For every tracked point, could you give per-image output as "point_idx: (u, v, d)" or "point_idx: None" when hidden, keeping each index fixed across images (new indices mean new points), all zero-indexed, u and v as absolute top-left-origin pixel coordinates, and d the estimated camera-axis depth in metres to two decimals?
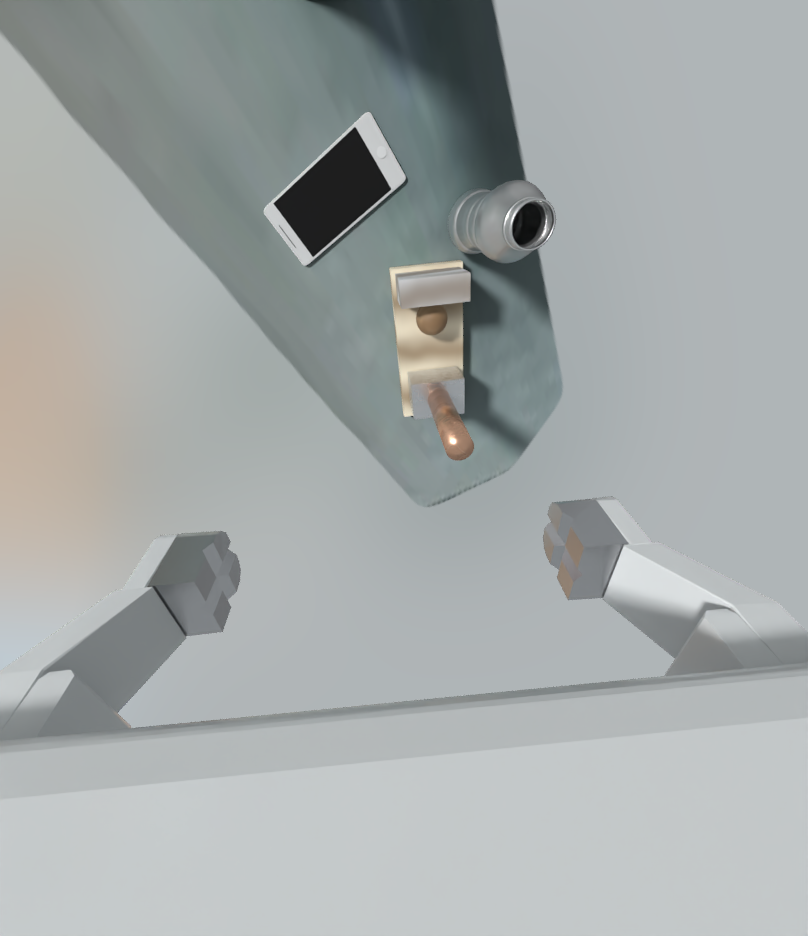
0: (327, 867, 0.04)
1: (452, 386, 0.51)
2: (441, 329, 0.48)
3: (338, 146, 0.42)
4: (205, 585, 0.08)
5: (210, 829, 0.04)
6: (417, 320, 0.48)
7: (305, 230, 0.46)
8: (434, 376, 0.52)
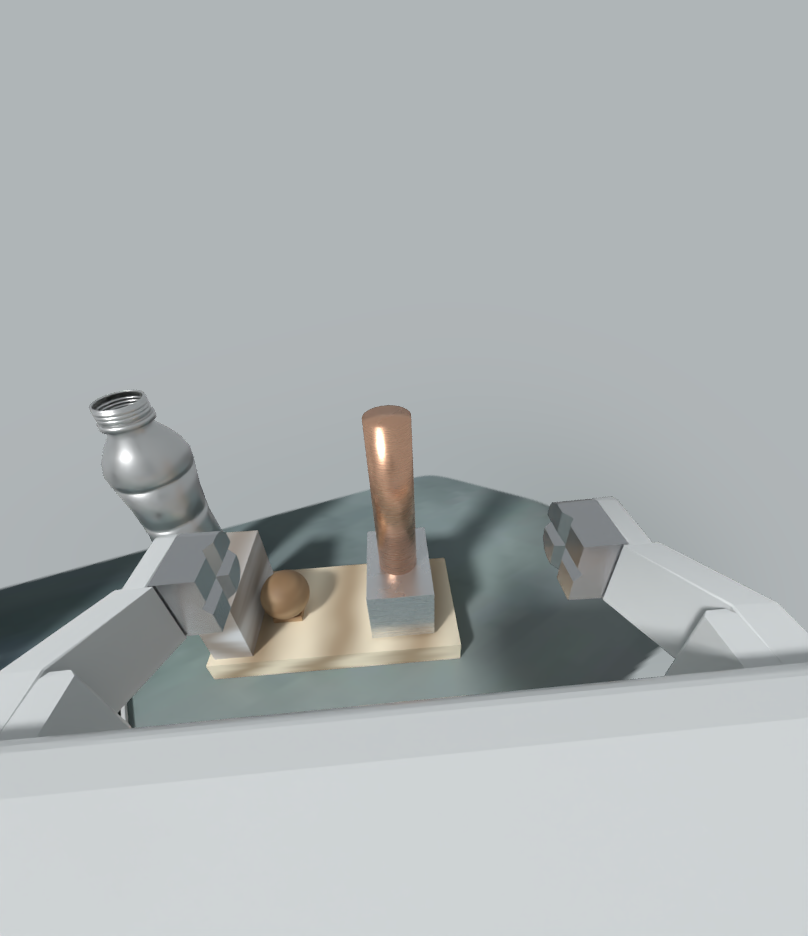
0: (327, 868, 0.04)
1: None
2: (297, 573, 0.33)
3: None
4: (205, 585, 0.08)
5: (210, 829, 0.04)
6: (277, 609, 0.31)
7: None
8: None
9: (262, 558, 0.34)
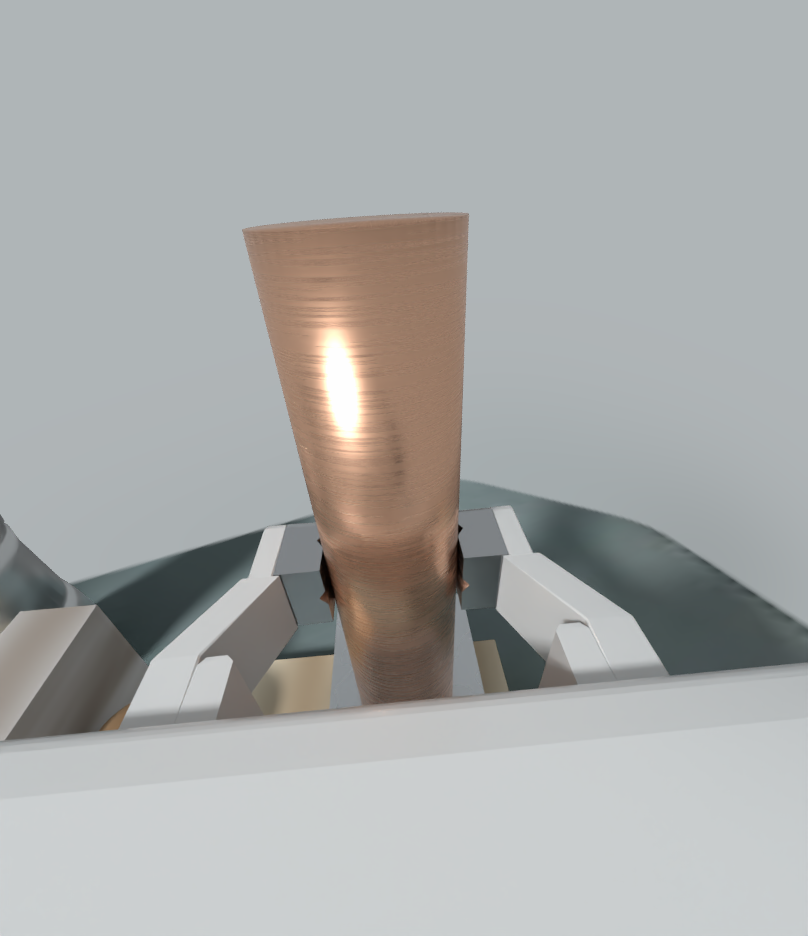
0: (328, 868, 0.04)
1: None
2: None
3: None
4: (324, 574, 0.08)
5: (210, 829, 0.04)
6: None
7: None
8: None
9: (112, 662, 0.16)
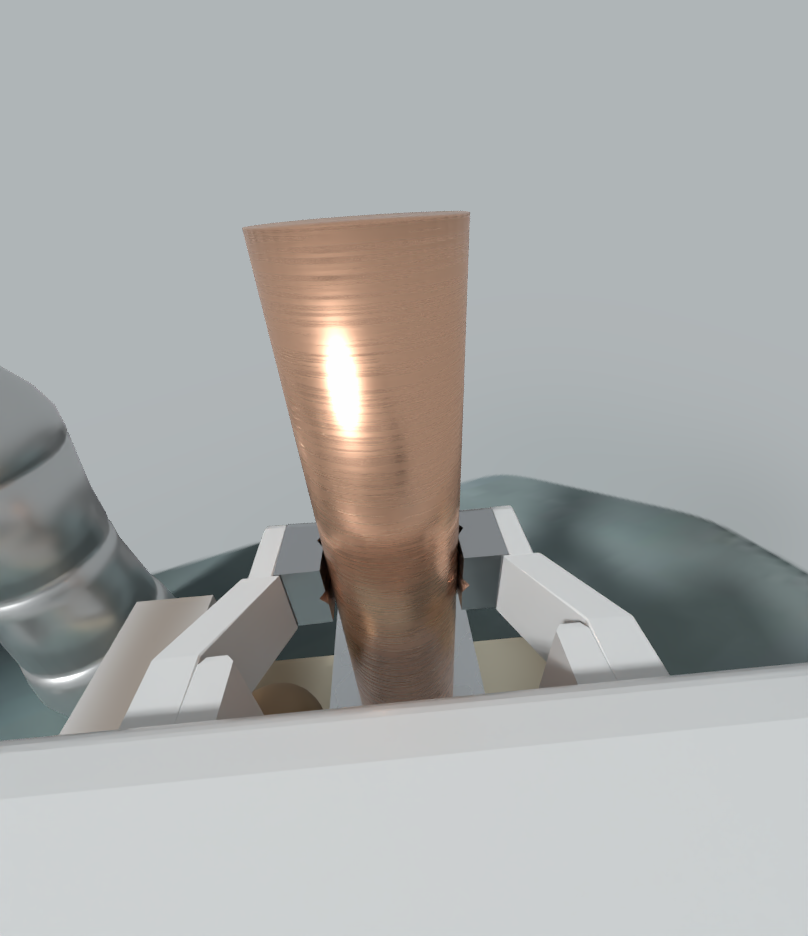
0: (327, 868, 0.04)
1: None
2: (300, 696, 0.14)
3: None
4: (324, 575, 0.08)
5: (210, 829, 0.04)
6: None
7: None
8: None
9: None
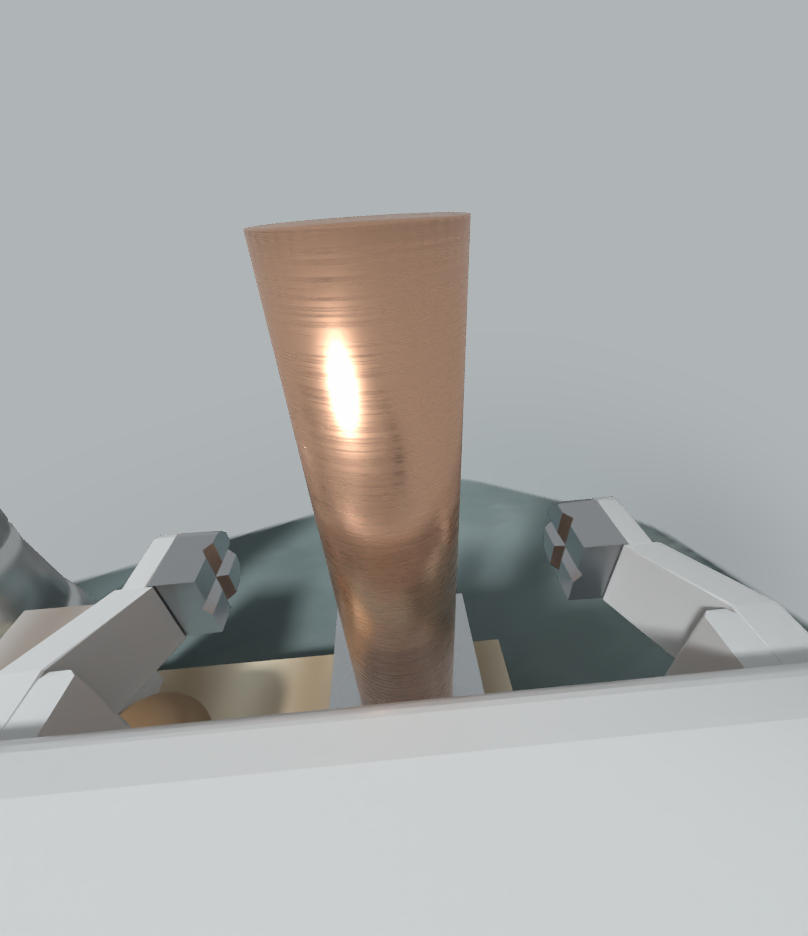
0: (327, 867, 0.04)
1: None
2: (181, 706, 0.14)
3: None
4: (205, 585, 0.08)
5: (210, 829, 0.04)
6: None
7: None
8: None
9: None
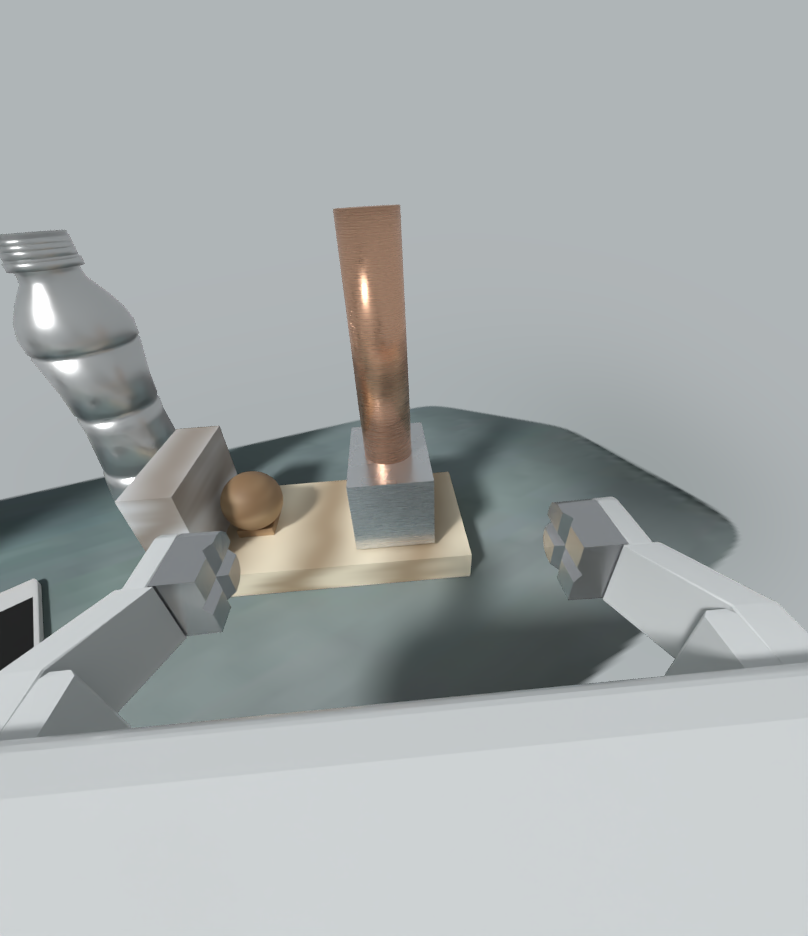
0: (327, 866, 0.04)
1: None
2: (267, 475, 0.26)
3: None
4: (205, 585, 0.08)
5: (210, 829, 0.04)
6: (240, 512, 0.24)
7: None
8: None
9: (225, 462, 0.28)
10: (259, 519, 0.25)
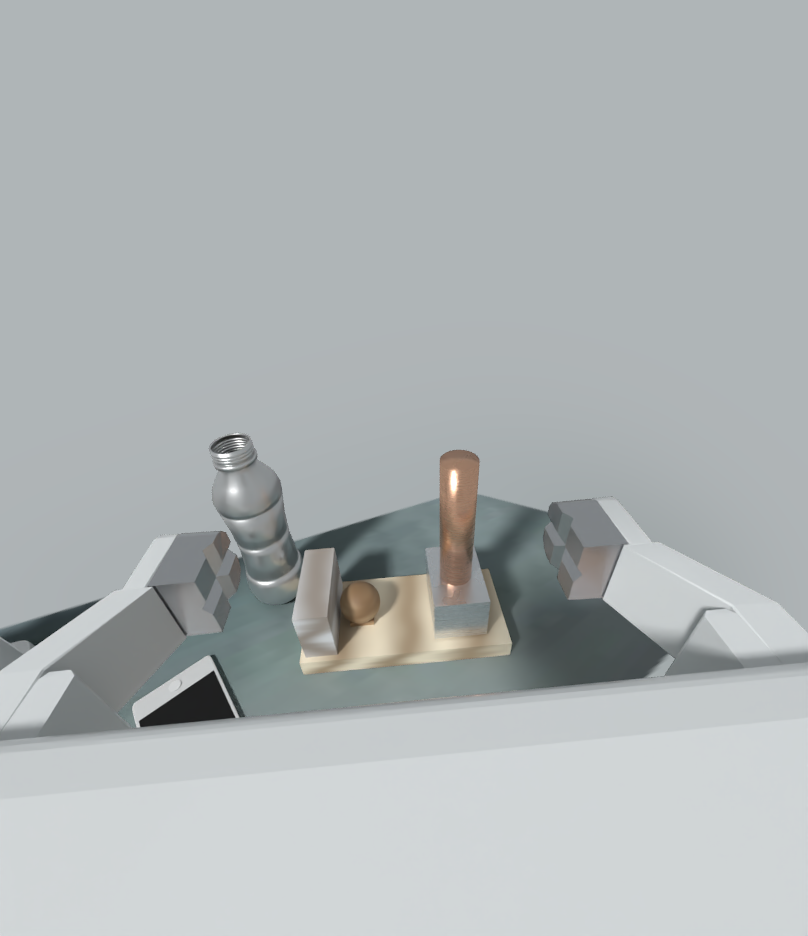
0: (328, 867, 0.04)
1: (436, 559, 0.39)
2: (370, 584, 0.39)
3: None
4: (205, 585, 0.08)
5: (210, 829, 0.04)
6: (357, 615, 0.37)
7: None
8: None
9: (337, 571, 0.40)
10: (368, 618, 0.37)
